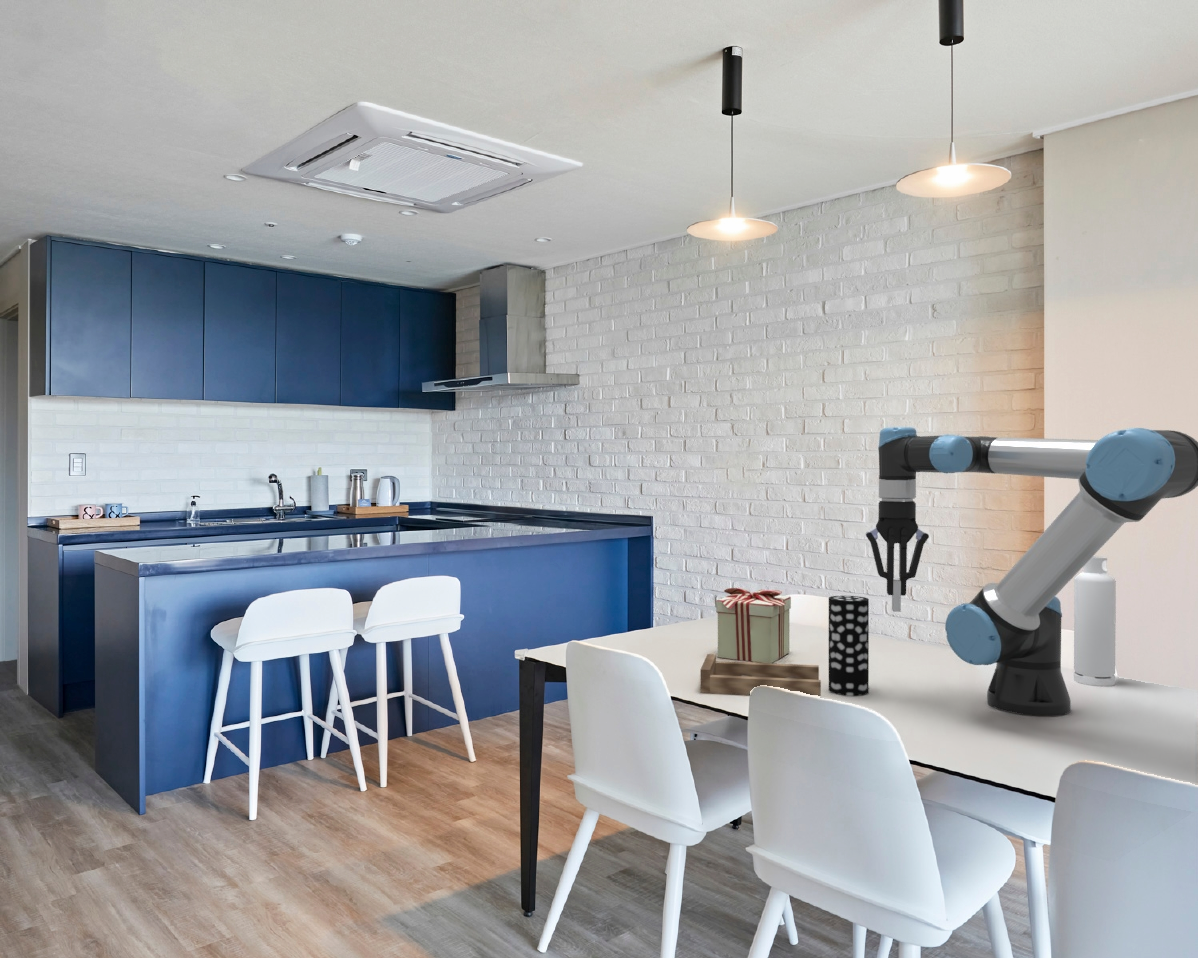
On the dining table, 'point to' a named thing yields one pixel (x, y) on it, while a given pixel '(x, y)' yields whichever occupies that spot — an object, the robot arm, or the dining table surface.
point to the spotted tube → (849, 645)
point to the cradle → (757, 677)
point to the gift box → (753, 625)
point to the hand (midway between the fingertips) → (896, 610)
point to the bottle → (1094, 624)
